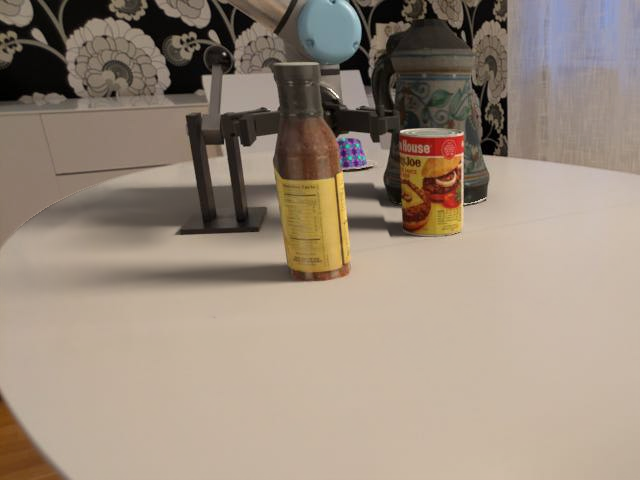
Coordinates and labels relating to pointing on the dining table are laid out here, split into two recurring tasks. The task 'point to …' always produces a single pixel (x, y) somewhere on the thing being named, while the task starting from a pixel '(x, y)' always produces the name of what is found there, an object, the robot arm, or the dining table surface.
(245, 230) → the bracket
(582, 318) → the dining table surface
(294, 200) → the sauce bottle
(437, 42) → the beer stein
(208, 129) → the lever
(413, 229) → the canned food
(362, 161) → the pudding
